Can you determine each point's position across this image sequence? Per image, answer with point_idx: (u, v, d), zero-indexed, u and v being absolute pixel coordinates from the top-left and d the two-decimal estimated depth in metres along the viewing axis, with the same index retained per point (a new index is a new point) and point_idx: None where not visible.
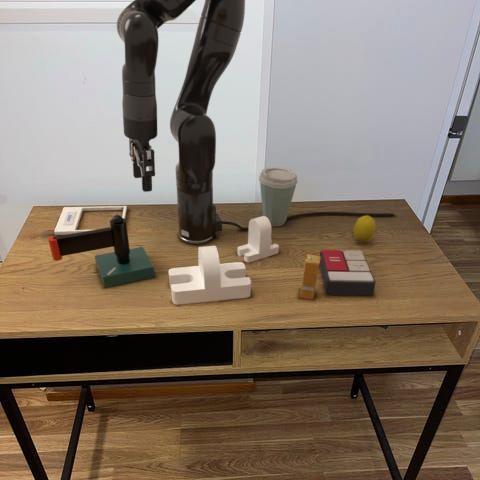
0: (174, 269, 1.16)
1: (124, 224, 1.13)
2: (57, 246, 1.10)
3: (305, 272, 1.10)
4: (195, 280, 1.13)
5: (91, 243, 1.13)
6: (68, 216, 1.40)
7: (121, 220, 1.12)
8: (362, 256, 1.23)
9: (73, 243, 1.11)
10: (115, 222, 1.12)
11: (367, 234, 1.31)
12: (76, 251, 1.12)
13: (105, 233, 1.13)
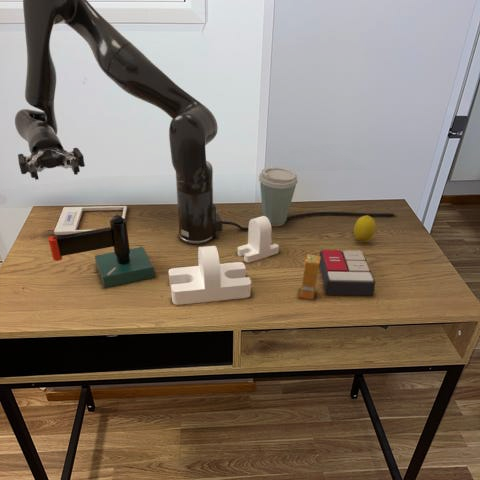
0: (174, 269, 1.16)
1: (124, 224, 1.13)
2: (57, 246, 1.10)
3: (305, 272, 1.10)
4: (195, 280, 1.13)
5: (91, 243, 1.13)
6: (68, 216, 1.40)
7: (121, 220, 1.12)
8: (362, 256, 1.23)
9: (73, 243, 1.11)
10: (115, 222, 1.12)
11: (367, 234, 1.31)
12: (76, 251, 1.12)
13: (105, 233, 1.13)
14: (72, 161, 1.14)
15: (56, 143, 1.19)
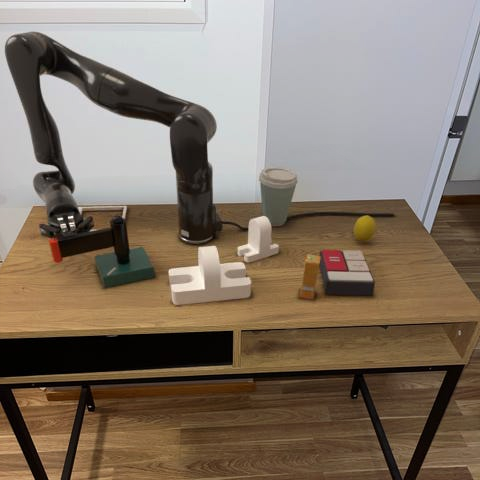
0: (174, 269, 1.16)
1: (124, 224, 1.13)
2: (58, 248, 1.09)
3: (305, 272, 1.10)
4: (195, 280, 1.13)
5: (92, 244, 1.12)
6: None
7: (121, 220, 1.12)
8: (362, 256, 1.23)
9: (74, 245, 1.11)
10: (116, 222, 1.12)
11: (367, 234, 1.31)
12: (77, 252, 1.12)
13: (106, 233, 1.13)
14: (71, 233, 1.13)
15: (72, 208, 1.20)
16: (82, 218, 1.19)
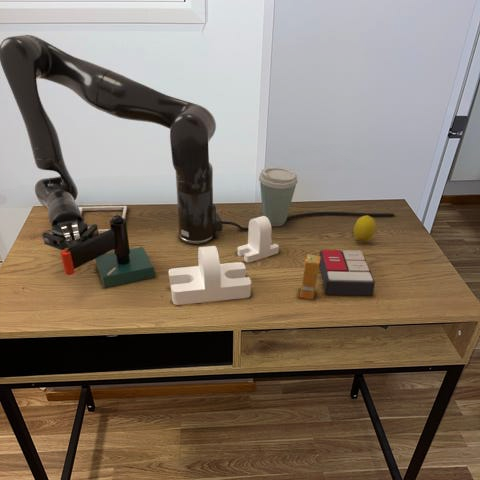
0: (174, 269, 1.16)
1: (125, 222, 1.13)
2: (71, 259, 1.06)
3: (305, 272, 1.10)
4: (195, 280, 1.13)
5: (99, 249, 1.11)
6: None
7: (122, 219, 1.13)
8: (362, 256, 1.23)
9: (84, 253, 1.08)
10: (118, 222, 1.12)
11: (367, 234, 1.31)
12: (87, 260, 1.10)
13: (110, 235, 1.12)
14: (76, 242, 1.10)
15: (76, 216, 1.17)
16: (86, 226, 1.16)
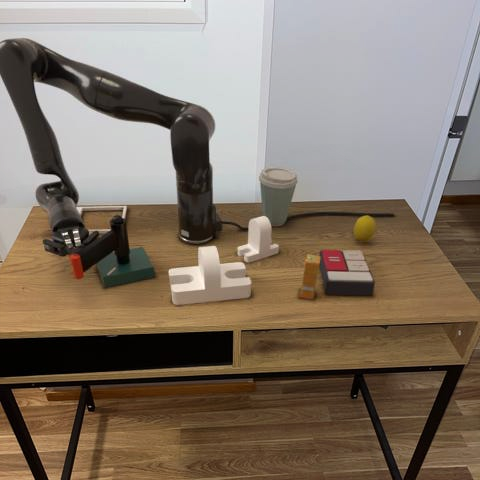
0: (174, 269, 1.16)
1: (125, 222, 1.13)
2: (81, 262, 1.05)
3: (305, 272, 1.10)
4: (195, 280, 1.13)
5: (103, 250, 1.10)
6: None
7: (122, 218, 1.13)
8: (362, 256, 1.23)
9: (91, 255, 1.07)
10: (119, 221, 1.12)
11: (367, 234, 1.31)
12: (94, 263, 1.09)
13: (112, 236, 1.12)
14: (77, 249, 1.08)
15: (77, 222, 1.15)
16: (87, 233, 1.14)
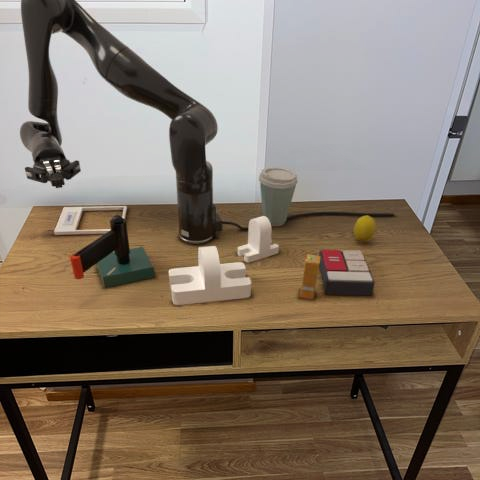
0: (174, 269, 1.16)
1: (125, 222, 1.13)
2: (81, 262, 1.05)
3: (305, 272, 1.10)
4: (195, 280, 1.13)
5: (103, 250, 1.10)
6: (68, 216, 1.40)
7: (122, 218, 1.13)
8: (361, 256, 1.23)
9: (91, 255, 1.07)
10: (119, 221, 1.12)
11: (367, 234, 1.31)
12: (94, 263, 1.09)
13: (112, 236, 1.12)
14: (57, 174, 1.13)
15: (58, 153, 1.19)
16: (68, 163, 1.19)
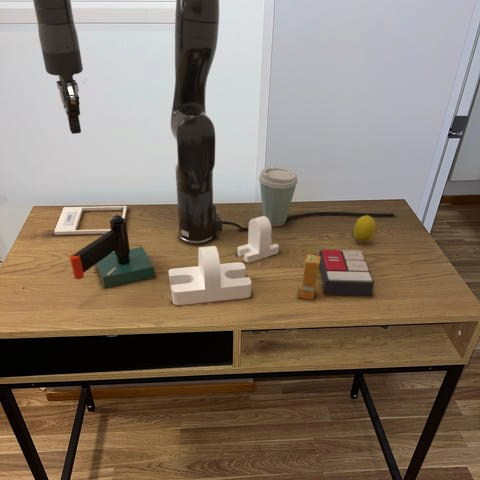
0: (174, 269, 1.16)
1: (125, 222, 1.13)
2: (81, 262, 1.05)
3: (305, 272, 1.10)
4: (195, 280, 1.13)
5: (103, 250, 1.10)
6: (68, 216, 1.40)
7: (122, 218, 1.13)
8: (361, 256, 1.23)
9: (91, 255, 1.07)
10: (119, 221, 1.12)
11: (367, 234, 1.31)
12: (94, 263, 1.09)
13: (112, 236, 1.12)
14: None
15: None
16: None
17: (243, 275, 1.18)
